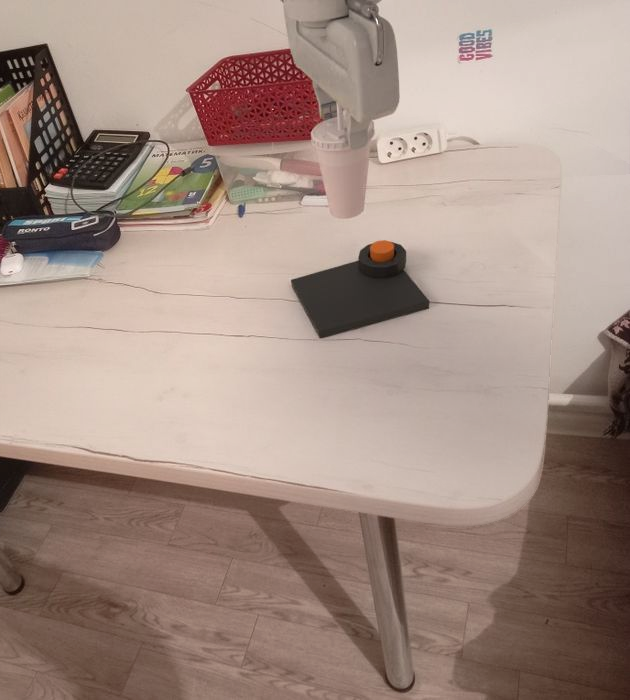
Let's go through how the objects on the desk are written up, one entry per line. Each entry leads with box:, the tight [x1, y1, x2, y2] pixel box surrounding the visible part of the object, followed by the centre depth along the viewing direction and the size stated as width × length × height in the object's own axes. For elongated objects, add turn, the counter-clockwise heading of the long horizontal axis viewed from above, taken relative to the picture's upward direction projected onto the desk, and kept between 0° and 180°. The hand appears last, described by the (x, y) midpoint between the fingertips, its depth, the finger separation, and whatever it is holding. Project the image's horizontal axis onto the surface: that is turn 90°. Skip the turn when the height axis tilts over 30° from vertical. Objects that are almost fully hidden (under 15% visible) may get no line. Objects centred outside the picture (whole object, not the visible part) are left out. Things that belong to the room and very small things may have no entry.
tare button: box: [370, 239, 394, 262], centre depth 82 cm, size 3×3×2 cm
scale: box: [290, 241, 430, 339], centre depth 81 cm, size 15×12×3 cm
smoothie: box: [310, 102, 376, 220], centre depth 66 cm, size 6×6×14 cm
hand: (342, 131), depth 64 cm, fingers closed on smoothie, 6 cm apart
